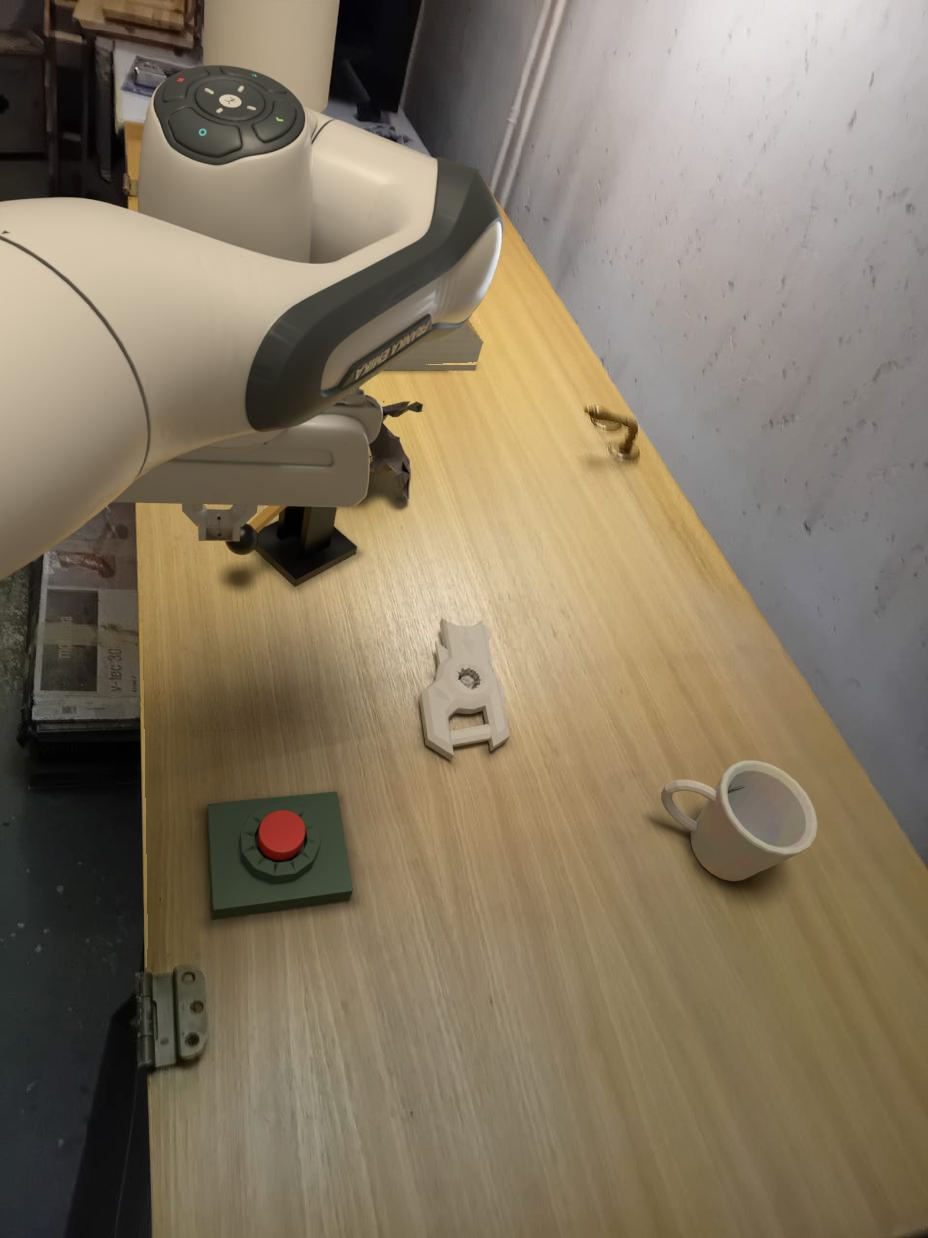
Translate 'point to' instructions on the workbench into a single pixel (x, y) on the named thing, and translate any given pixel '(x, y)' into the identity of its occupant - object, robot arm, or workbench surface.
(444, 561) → the workbench surface
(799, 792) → the mug
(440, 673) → the beige holed clip
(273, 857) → the button
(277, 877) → the button box
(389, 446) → the crumpled paper
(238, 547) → the lever
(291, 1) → the lamp
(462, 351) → the grey sloped slatted box
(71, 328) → the robot arm
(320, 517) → the black lever stand
